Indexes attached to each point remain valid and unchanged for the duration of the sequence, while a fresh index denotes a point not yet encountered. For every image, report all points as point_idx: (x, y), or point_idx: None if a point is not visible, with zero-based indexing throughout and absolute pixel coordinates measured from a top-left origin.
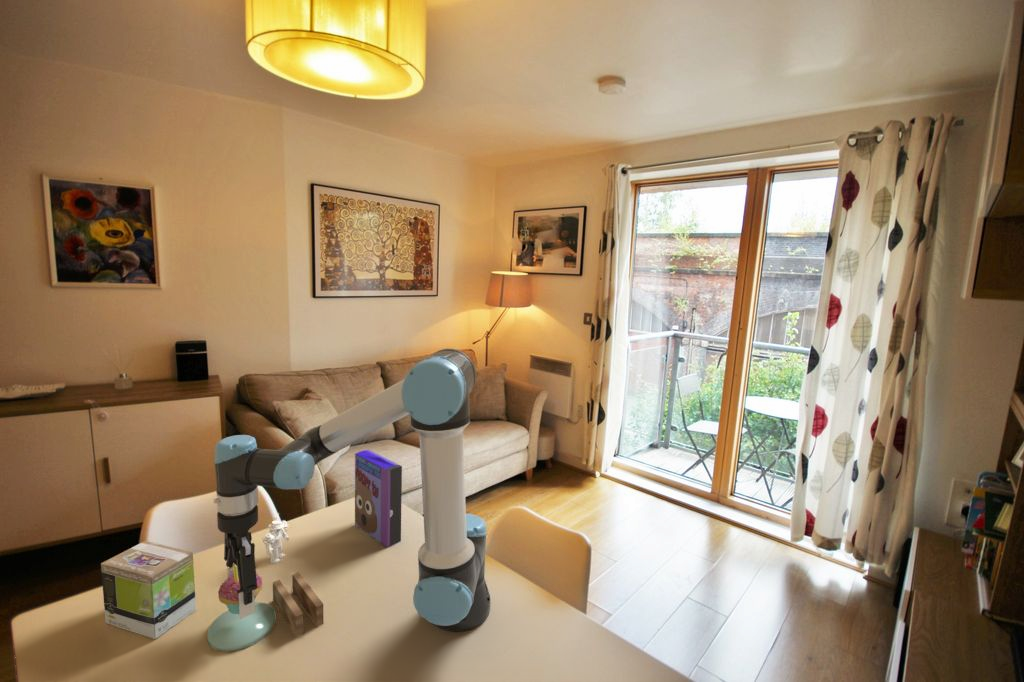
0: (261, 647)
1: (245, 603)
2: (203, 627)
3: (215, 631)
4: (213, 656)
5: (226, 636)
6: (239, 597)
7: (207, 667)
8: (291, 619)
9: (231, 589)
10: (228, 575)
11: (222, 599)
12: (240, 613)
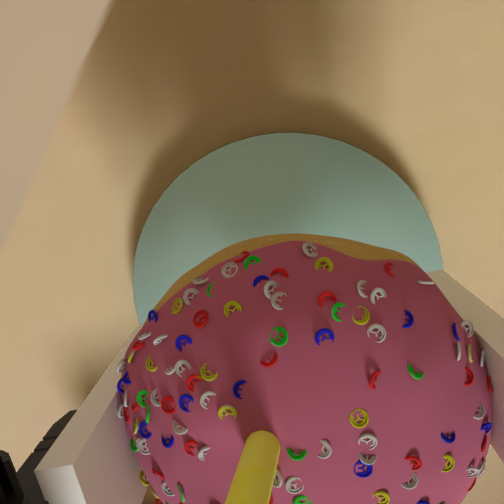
0: (114, 344)
1: (52, 428)
2: (394, 110)
3: (289, 170)
4: (150, 158)
5: (221, 219)
6: (79, 416)
7: (90, 134)
8: (147, 498)
9: (189, 378)
10: (498, 357)
11: (198, 269)
12: (124, 345)
